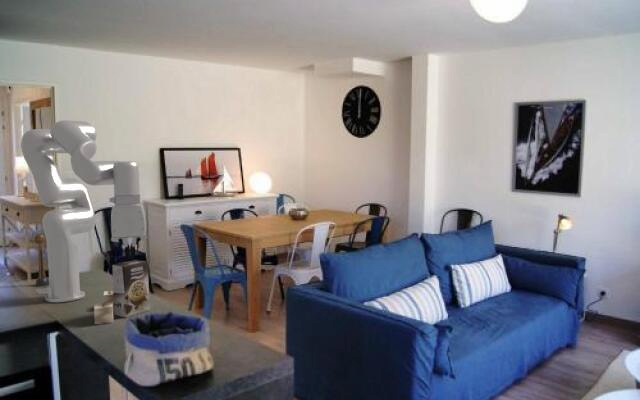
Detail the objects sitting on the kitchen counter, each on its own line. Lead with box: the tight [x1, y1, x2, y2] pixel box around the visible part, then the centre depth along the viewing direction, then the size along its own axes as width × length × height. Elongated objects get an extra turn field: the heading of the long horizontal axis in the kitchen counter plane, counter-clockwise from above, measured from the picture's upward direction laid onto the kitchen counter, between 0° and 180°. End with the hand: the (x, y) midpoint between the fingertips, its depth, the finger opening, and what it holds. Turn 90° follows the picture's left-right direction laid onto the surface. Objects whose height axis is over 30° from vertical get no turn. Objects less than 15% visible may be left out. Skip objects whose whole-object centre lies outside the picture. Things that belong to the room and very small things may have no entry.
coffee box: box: [112, 259, 150, 318], centre depth 165 cm, size 9×6×16 cm
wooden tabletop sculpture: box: [29, 233, 50, 287], centre depth 202 cm, size 6×5×20 cm
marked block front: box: [93, 302, 114, 325], centre depth 157 cm, size 5×5×5 cm
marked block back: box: [103, 290, 114, 310], centre depth 172 cm, size 5×5×5 cm
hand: (130, 258), depth 164 cm, fingers closed
